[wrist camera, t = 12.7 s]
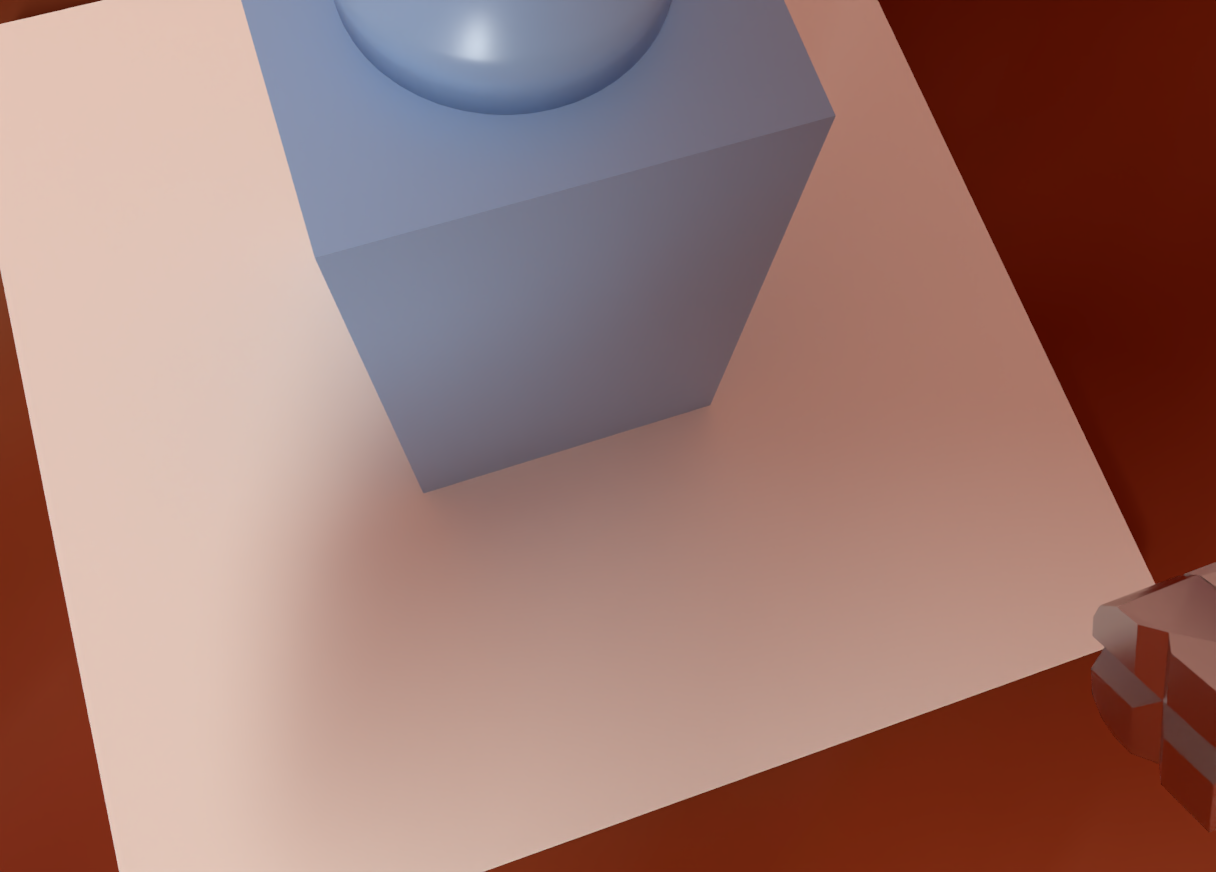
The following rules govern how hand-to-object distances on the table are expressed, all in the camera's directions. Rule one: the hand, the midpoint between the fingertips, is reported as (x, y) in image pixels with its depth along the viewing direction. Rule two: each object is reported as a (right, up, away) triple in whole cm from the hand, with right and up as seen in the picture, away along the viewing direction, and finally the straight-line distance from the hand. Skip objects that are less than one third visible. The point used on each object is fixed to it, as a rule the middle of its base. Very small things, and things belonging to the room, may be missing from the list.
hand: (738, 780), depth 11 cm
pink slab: (-3, +5, +8) cm, 10 cm away
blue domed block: (-3, +5, +7) cm, 9 cm away
